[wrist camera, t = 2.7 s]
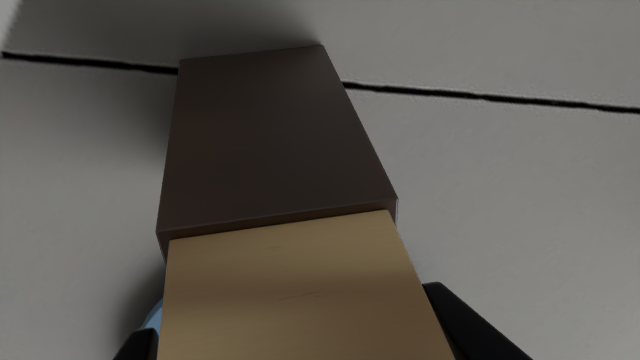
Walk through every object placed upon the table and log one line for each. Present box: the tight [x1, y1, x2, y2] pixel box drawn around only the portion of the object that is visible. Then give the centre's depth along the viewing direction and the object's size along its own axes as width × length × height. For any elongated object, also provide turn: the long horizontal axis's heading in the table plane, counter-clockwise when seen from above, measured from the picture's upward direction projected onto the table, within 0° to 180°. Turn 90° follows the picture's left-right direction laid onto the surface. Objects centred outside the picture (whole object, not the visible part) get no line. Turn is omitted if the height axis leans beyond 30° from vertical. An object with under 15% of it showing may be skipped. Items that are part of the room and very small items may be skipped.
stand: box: [155, 45, 398, 267], centre depth 14 cm, size 4×4×8 cm
